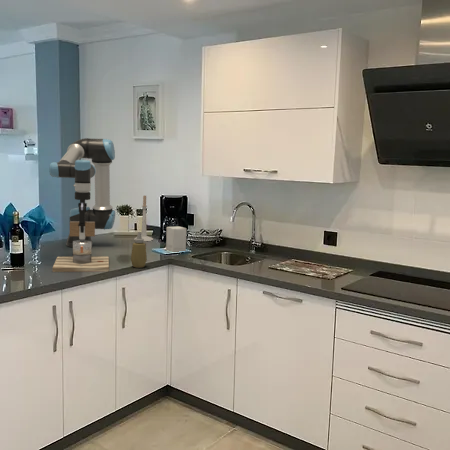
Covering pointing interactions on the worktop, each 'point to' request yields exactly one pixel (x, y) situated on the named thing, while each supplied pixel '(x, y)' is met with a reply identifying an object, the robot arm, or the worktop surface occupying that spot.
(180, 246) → the supplement box
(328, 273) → the worktop surface
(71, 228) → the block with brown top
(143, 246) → the squeeze bottle
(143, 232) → the candlestick
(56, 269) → the base
